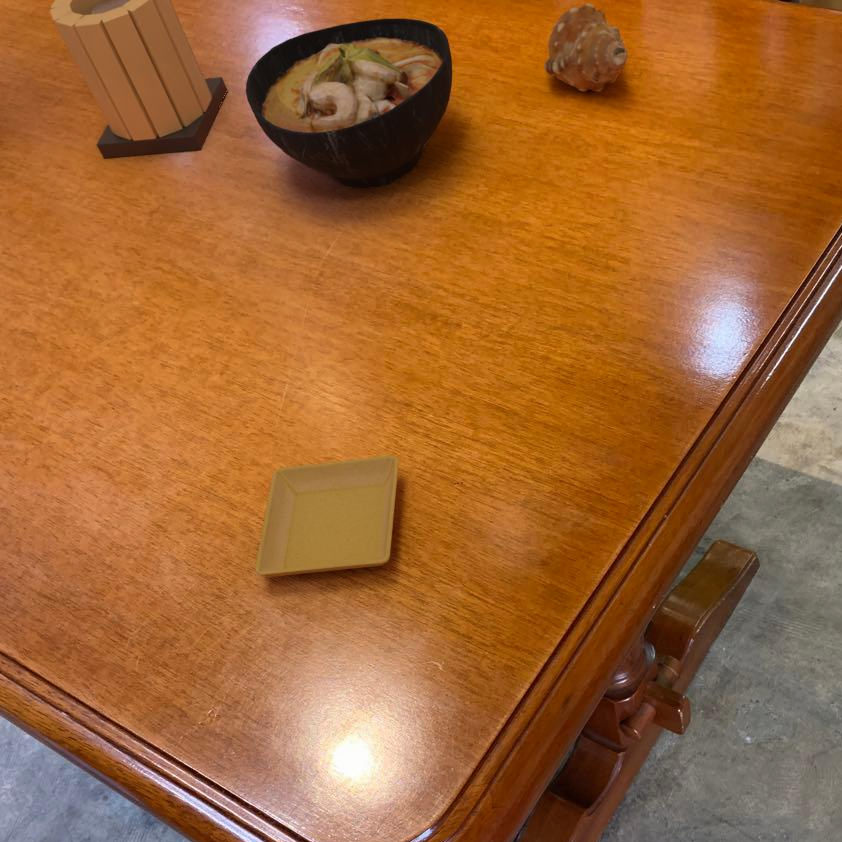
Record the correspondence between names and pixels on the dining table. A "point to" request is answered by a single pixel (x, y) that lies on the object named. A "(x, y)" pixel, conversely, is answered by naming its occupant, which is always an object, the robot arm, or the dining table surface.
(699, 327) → the dining table surface
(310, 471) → the saucer
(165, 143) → the metal peg stand
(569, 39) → the seashell
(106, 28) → the slatted pencil cup
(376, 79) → the bowl
